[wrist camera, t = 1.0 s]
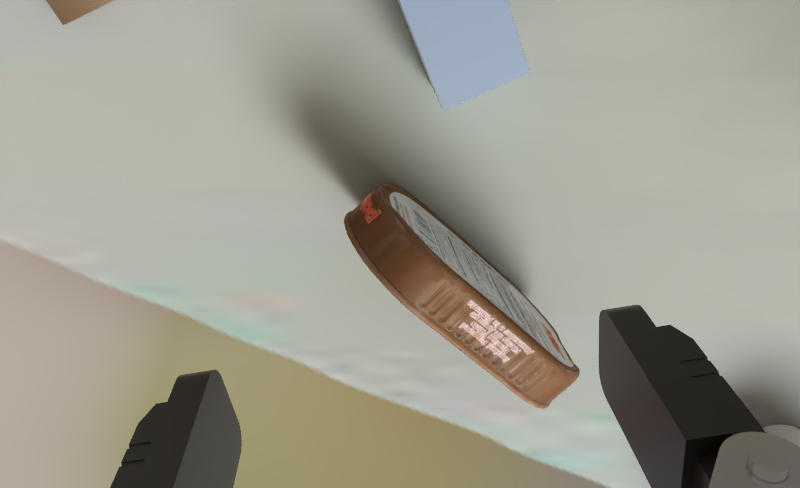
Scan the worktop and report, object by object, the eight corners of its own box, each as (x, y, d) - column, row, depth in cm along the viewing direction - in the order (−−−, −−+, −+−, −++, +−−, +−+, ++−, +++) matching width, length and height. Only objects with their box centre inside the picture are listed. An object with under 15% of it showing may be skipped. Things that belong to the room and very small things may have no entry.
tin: (340, 192, 33) (338, 273, 25) (381, 151, 32) (390, 222, 24) (519, 341, 38) (559, 443, 31) (557, 310, 38) (609, 407, 30)
